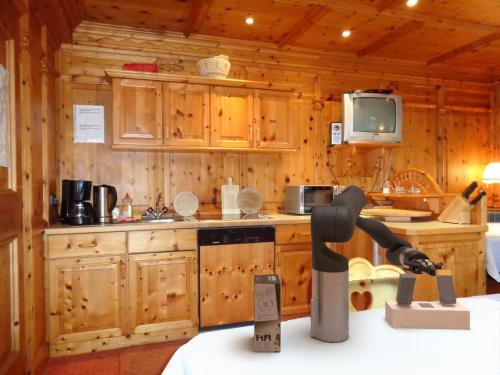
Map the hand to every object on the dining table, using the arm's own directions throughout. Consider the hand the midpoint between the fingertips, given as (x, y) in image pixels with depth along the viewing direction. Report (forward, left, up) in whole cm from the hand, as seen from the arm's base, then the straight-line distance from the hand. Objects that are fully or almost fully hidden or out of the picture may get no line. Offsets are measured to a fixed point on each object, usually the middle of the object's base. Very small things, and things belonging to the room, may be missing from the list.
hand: (434, 272), depth 111 cm
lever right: (+2, -9, -6) cm, 11 cm away
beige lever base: (-3, -10, -12) cm, 16 cm away
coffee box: (-41, -36, -12) cm, 56 cm away
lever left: (-9, -12, -6) cm, 16 cm away
